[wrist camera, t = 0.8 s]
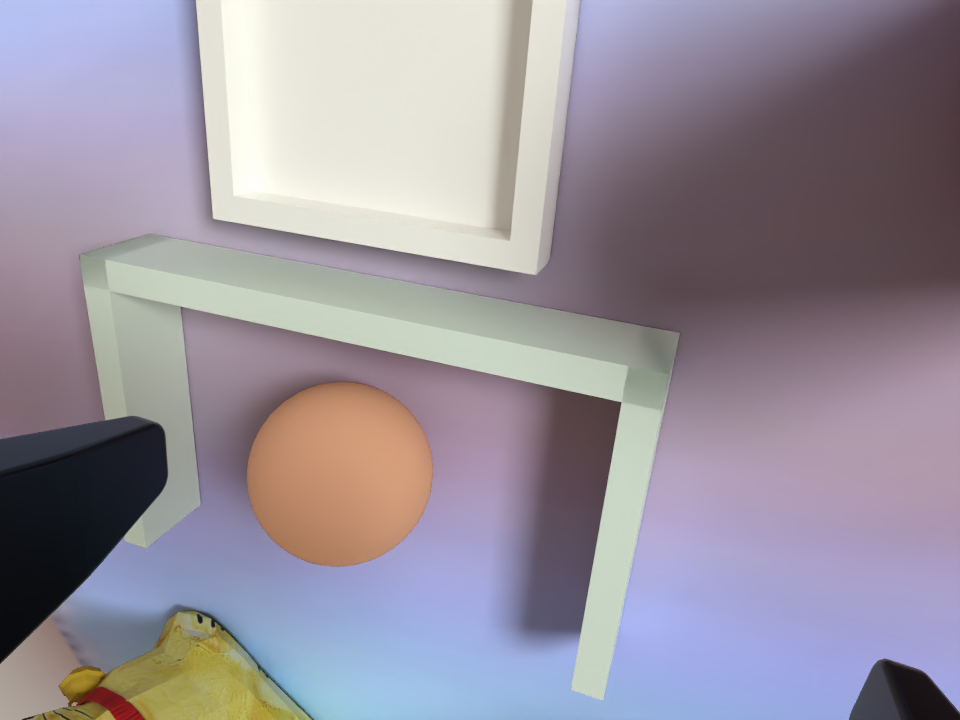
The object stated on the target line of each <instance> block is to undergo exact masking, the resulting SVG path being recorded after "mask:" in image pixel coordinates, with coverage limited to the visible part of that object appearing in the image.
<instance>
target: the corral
mask: <svg viewBox="0 0 960 720" xmlns="http://www.w3.org/2000/svg"><path fill="white" fill-rule="evenodd" d="M79 259H80V266H81V272H82V278H83V284H84V291H85V297H86V303H87V309H88V316H89V322H90V328H91V334H92V341H93V347H94V353H95V359H96V366H97V372H98V378H99V384H100V391H101V397H102V403H103V409H104V416H105V420H110V419H116V418H121V417H127V416H139V417H142V418H145V419H148V420H151V421H154V422H157V423H159V424H160V425H162V427H163V429H164V431H165V435H166V447H167V461H168V479H167V483H166V485H165V487H164V489H163V491H162V492H161V494H160V495H159V496H158V497H157V498H156V500H155V501H154V502H153V503H152V504H151V505H150V507H149V508H148V509H147V510H146V511H145V512H144V514H143V515H142V516H141V517H140V518H139V519H138V521H137V522H136V523H135V524H134V525H133V526H132V528H131V529H130V530H129V531H128V532H127V533H126V535H125V536H124V541H125V542H128V543H131V544H134V545H137V546H140V547H143V548H146V549H147V548H148V547H149V546H150V545H152V544H153V543H154V542H155V541H156V540H158V539H159V538H160V537H161V536H163V535H164V534H165V533H166V532H168V531H169V530H170V529H171V528H172V527H174V526H175V525H176V524H177V523H179V522H180V521H181V520H182V519H184V518H185V517H186V516H187V515H188V514H190V513H191V512H192V511H193V510H195V509H196V508H197V507H198V506H200V505H201V500H200V490H199V481H198V471H197V461H196V451H195V442H194V432H193V422H192V413H191V403H190V393H189V383H188V374H187V364H186V354H185V345H184V335H183V325H182V315H181V307H186V308H190V309H195V310H199V311H204V312H209V313H213V314H218V315H222V316H227V317H232V318H236V319H241V320H245V321H250V322H255V323H259V324H264V325H268V326H273V327H278V328H282V329H287V330H291V331H296V332H301V333H305V334H310V335H314V336H319V337H324V338H328V339H333V340H337V341H342V342H347V343H351V344H356V345H360V346H365V347H370V348H374V349H379V350H383V351H388V352H393V353H397V354H402V355H406V356H411V357H416V358H420V359H425V360H429V361H434V362H439V363H443V364H448V365H452V366H457V367H462V368H466V369H471V370H475V371H480V372H485V373H489V374H494V375H498V376H503V377H508V378H512V379H517V380H521V381H526V382H531V383H535V384H540V385H544V386H549V387H554V388H558V389H563V390H567V391H572V392H577V393H581V394H586V395H590V396H595V397H600V398H604V399H609V400H613V401H618V402H622V403H621V409H620V415H619V420H618V426H617V432H616V437H615V443H614V449H613V454H612V460H611V466H610V471H609V477H608V482H607V488H606V494H605V499H604V505H603V511H602V516H601V522H600V528H599V533H598V539H597V545H596V550H595V556H594V562H593V567H592V573H591V579H590V584H589V590H588V596H587V601H586V607H585V613H584V618H583V624H582V630H581V635H580V641H579V646H578V652H577V658H576V663H575V669H574V675H573V680H572V686H571V690H573V691H576V692H579V693H582V694H585V695H588V696H591V697H594V698H597V699H600V700H603V698H604V694H605V689H606V685H607V681H608V676H609V672H610V668H611V663H612V659H613V655H614V650H615V646H616V642H617V637H618V633H619V628H620V623H621V618H622V613H623V609H624V604H625V599H626V594H627V589H628V584H629V579H630V575H631V570H632V565H633V560H634V555H635V550H636V545H637V540H638V536H639V531H640V526H641V521H642V516H643V511H644V506H645V502H646V497H647V492H648V487H649V482H650V477H651V472H652V467H653V463H654V458H655V453H656V448H657V443H658V438H659V433H660V429H661V424H662V419H663V414H664V409H665V404H666V399H667V394H668V390H669V385H670V380H671V375H672V370H673V365H674V360H675V356H676V351H677V346H678V341H679V336H680V333H678V332H672V331H667V330H662V329H656V328H651V327H646V326H640V325H635V324H630V323H624V322H619V321H614V320H608V319H603V318H598V317H592V316H587V315H581V314H576V313H571V312H565V311H560V310H555V309H549V308H544V307H539V306H533V305H528V304H523V303H517V302H512V301H507V300H501V299H496V298H491V297H485V296H480V295H474V294H469V293H464V292H458V291H453V290H448V289H442V288H437V287H432V286H426V285H421V284H416V283H410V282H405V281H400V280H394V279H389V278H384V277H378V276H373V275H367V274H362V273H357V272H351V271H346V270H341V269H335V268H330V267H325V266H319V265H314V264H309V263H303V262H298V261H293V260H287V259H282V258H276V257H271V256H266V255H260V254H255V253H250V252H244V251H239V250H234V249H228V248H223V247H218V246H212V245H207V244H202V243H196V242H191V241H186V240H180V239H175V238H169V237H164V236H159V235H153V234H147V235H144V236H140V237H137V238H134V239H130V240H127V241H123V242H120V243H116V244H113V245H110V246H106V247H103V248H99V249H96V250H92V251H89V252H86V253H82V254H79Z"/></svg>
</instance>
